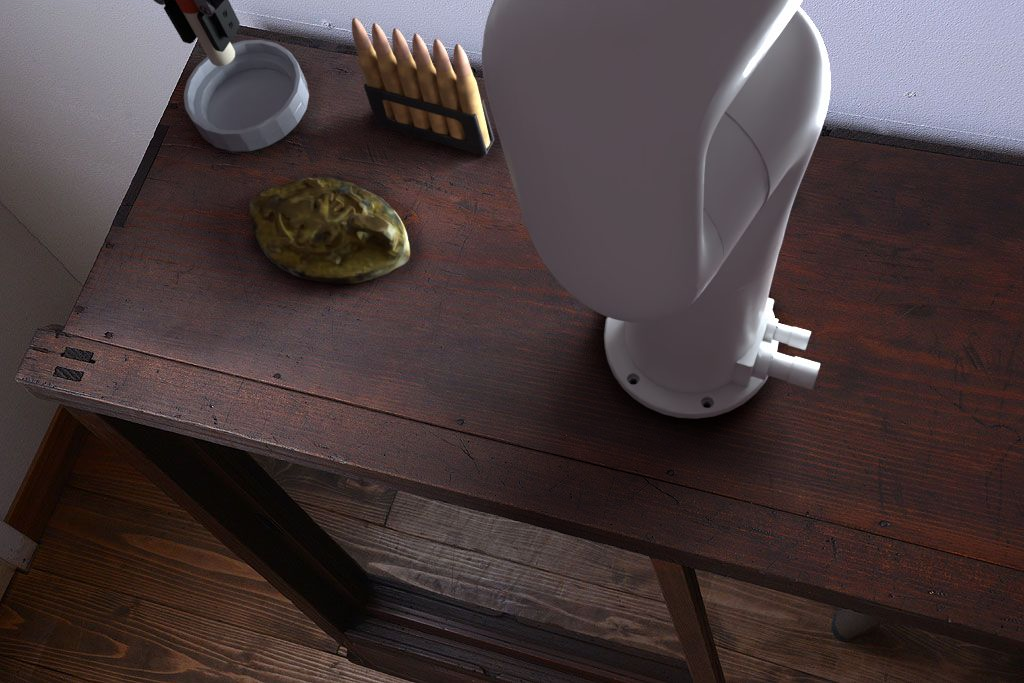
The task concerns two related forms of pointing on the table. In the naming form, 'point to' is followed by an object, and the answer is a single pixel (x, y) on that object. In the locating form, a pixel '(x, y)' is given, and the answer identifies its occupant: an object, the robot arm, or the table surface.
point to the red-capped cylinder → (215, 57)
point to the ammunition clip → (423, 90)
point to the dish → (247, 97)
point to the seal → (329, 231)
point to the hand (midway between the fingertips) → (212, 33)
